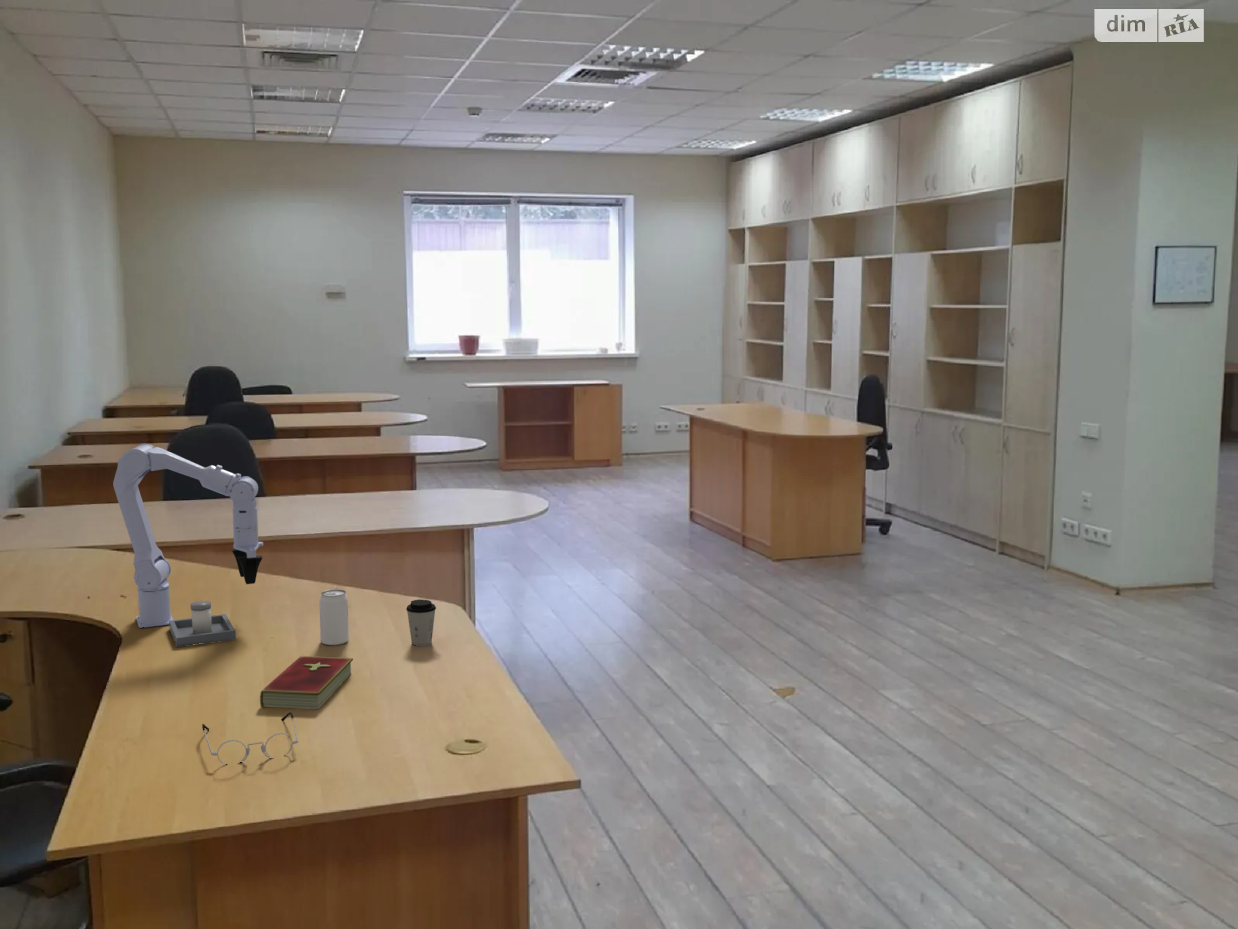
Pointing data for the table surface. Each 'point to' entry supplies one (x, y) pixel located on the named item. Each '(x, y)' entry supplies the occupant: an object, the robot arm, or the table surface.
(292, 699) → the hardcover book
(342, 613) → the can
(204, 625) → the shaker
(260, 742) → the eyeglasses
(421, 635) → the coffee cup
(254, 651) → the table surface
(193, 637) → the tray
